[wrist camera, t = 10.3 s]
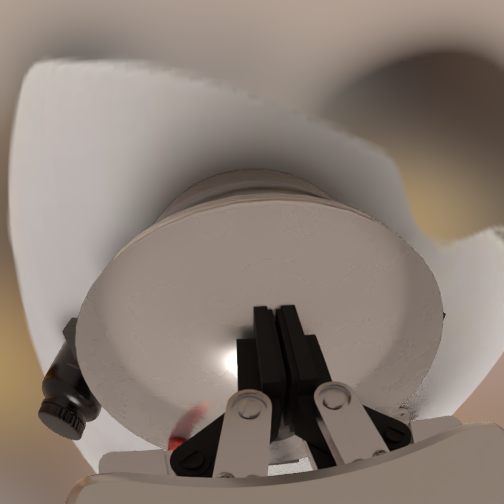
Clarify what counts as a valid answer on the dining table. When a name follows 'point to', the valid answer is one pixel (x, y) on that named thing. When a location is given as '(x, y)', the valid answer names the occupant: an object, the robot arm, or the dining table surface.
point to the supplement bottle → (67, 397)
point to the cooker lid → (241, 311)
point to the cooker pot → (223, 188)
